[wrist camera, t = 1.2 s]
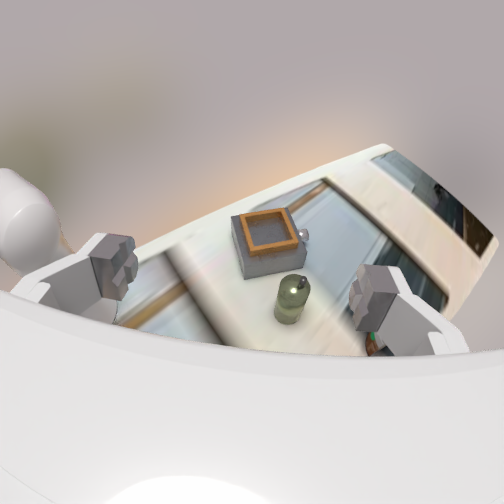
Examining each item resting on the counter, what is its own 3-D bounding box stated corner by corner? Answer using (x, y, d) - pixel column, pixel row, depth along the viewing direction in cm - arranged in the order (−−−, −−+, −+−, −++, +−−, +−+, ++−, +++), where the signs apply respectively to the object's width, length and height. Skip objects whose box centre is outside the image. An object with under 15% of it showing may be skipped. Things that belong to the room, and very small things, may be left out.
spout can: (278, 327, 58) (286, 298, 47) (270, 303, 61) (277, 270, 50) (303, 321, 58) (317, 290, 48) (295, 298, 62) (306, 264, 51)
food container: (390, 312, 59) (410, 291, 51) (403, 333, 56) (425, 315, 48) (349, 336, 56) (366, 317, 48) (363, 360, 53) (383, 345, 45)
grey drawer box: (244, 279, 64) (244, 259, 58) (231, 232, 72) (230, 210, 66) (314, 265, 67) (321, 244, 60) (295, 222, 75) (299, 200, 68)
